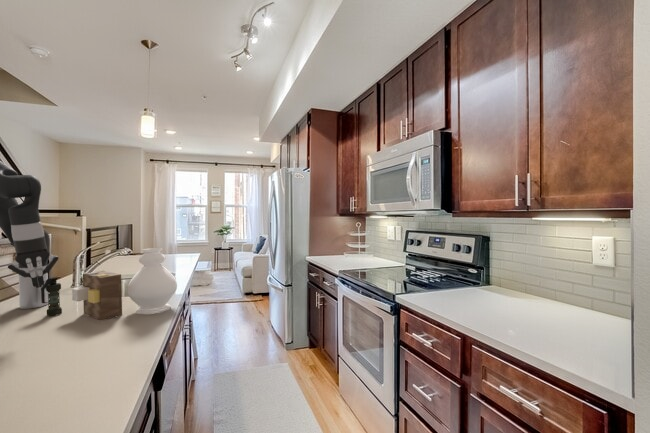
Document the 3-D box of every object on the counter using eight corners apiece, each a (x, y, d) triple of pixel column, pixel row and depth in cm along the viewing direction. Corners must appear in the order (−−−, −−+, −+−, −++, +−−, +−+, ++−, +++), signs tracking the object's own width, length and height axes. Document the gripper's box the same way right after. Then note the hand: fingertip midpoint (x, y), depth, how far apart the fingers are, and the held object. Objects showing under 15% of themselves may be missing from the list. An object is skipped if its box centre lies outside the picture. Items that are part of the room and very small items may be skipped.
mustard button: (88, 301, 116) (87, 290, 116) (106, 297, 122) (105, 286, 121) (93, 303, 114) (93, 291, 114) (111, 299, 119) (111, 287, 119)
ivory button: (72, 300, 119) (72, 288, 119) (90, 296, 124) (90, 285, 124) (77, 301, 117) (77, 290, 116) (95, 297, 122) (95, 286, 122)
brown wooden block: (83, 314, 123) (82, 273, 123) (103, 309, 129) (102, 270, 129) (101, 320, 115) (100, 277, 115) (122, 315, 121) (121, 273, 121)
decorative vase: (177, 312, 124) (176, 249, 123) (125, 319, 116) (123, 253, 116) (177, 300, 140) (175, 245, 139) (130, 306, 132) (129, 248, 132)
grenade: (48, 318, 119) (47, 279, 118) (36, 317, 120) (34, 278, 119) (66, 312, 125) (64, 275, 125) (53, 311, 126) (52, 275, 126)
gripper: (-1, 242, 94) (11, 296, 97) (56, 234, 103) (65, 283, 106) (0, 239, 100) (11, 289, 103) (54, 231, 109) (63, 278, 112)
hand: (39, 286), depth 105 cm, fingers closed
